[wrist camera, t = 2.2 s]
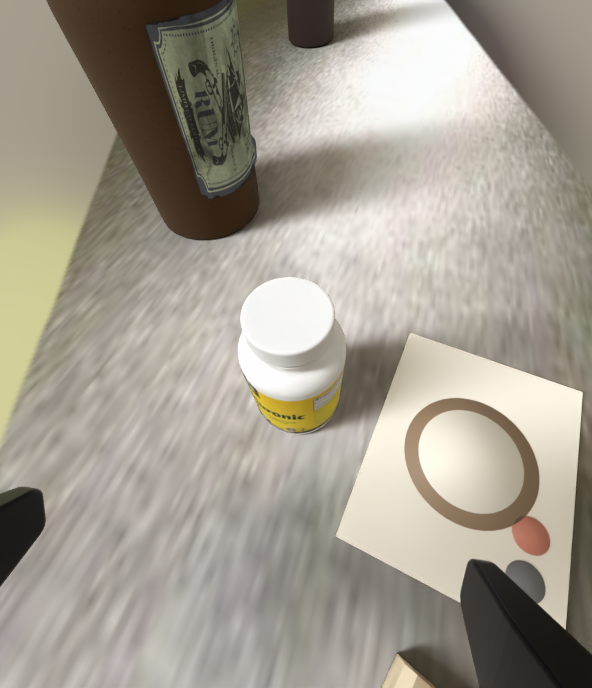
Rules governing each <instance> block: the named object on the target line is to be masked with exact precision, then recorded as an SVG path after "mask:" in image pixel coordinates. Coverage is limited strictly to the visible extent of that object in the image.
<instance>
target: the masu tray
mask: <svg viewBox="0 0 592 688" xmlns="http://www.w3.org/2000/svg"><path fill="white" fill-rule="evenodd" d="M381 688H436V687H435V686H434V685H433V684H432V683H430V682H429V681H428V680H427V679H426V678H425V677H424V676H423V675H421V674H420V673H419V672H418V671H417V670H416V669H415V668H413V667H412V666H411V665H410V664H409V663H408V662H407V661H405V660H404V659H403V658H402V657H401V656H400V655H399V654H396V656H395V658H394V661H393V663H392V665H391V667H390V669H389V672H388V674H387V676H386V678H385V681H384V683H383V685H382V687H381Z"/></svg>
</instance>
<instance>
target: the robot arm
mask: <svg viewBox="0 0 592 688" xmlns="http://www.w3.org/2000/svg"><path fill="white" fill-rule="evenodd" d="M45 522H46V517H45V508H44V499H43V493H42V492H41V490H39V489H36V488H30V487H18V488H15V489H12V490H9V491H6V492H4V493H1V494H0V587H1V585H2V584H3V583H4V581H5V580H6V579H7V577H8V576H9V575H10V573H11V572H12V571H13V569H14V568H15V567H16V566H17V564H18V563H19V562H20V560H21V559H22V558H23V556H24V555H25V554H26V552H27V551H28V550H29V548H30V547H31V546H32V545H33V543H34V542H35V541H36V539H37V538H38V537H39V535H40V534H41V532H42V531H43V529H44V526H45ZM460 603H461V609H462V613H463V617H464V622H465V626H466V631H467V635H468V640H469V644H470V648H471V653H472V657H473V662H474V666H475V671H476V675H477V680H478V684H479V688H592V654H591V653H590V652H589V651H587V650H586V649H585V648H584V647H583V646H582V645H581V644H580V643H579V642H578V641H577V640H576V639H575V638H574V637H573V636H572V635H570V634H569V633H568V632H567V631H566V630H565V629H564V628H563V627H562V626H561V625H560V624H559V623H558V622H557V621H556V620H554V619H553V618H552V617H551V616H550V615H549V614H548V613H547V612H546V611H545V610H544V609H543V608H542V607H541V606H540V605H538V604H537V603H536V602H535V601H534V600H533V599H532V598H531V597H530V596H529V595H528V594H527V593H526V592H525V591H524V590H523V589H521V588H520V587H519V586H518V585H517V584H516V583H515V582H514V581H513V580H512V579H511V578H510V577H509V576H508V575H507V574H505V573H504V572H503V571H502V570H501V569H500V568H499V567H498V566H497V565H496V564H494V563H493V562H490V561H486V560H480V559H470V560H469V561H468V563H467V566H466V570H465V574H464V578H463V582H462V587H461V591H460Z"/></svg>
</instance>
